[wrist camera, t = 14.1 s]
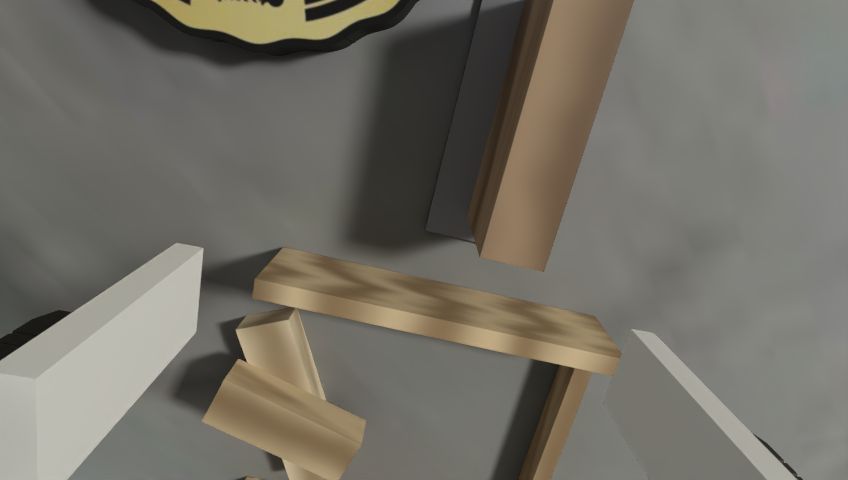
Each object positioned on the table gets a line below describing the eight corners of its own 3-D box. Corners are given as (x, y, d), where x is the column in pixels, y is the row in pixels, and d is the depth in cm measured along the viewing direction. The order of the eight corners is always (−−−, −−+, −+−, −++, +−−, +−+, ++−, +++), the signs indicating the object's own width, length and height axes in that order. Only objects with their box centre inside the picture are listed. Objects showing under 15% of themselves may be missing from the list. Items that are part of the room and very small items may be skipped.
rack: (244, 488, 48) (215, 553, 41) (283, 247, 40) (254, 278, 34) (511, 539, 50) (524, 610, 43) (595, 316, 42) (626, 360, 35)
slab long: (299, 460, 47) (291, 484, 45) (248, 313, 43) (235, 329, 40) (344, 452, 47) (339, 476, 44) (297, 303, 42) (288, 319, 40)
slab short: (342, 457, 44) (336, 483, 41) (217, 398, 42) (201, 421, 39) (366, 420, 42) (361, 444, 40) (238, 358, 41) (224, 379, 38)
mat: (425, 228, 40) (425, 230, 39) (491, -41, 34) (493, -43, 33) (543, 255, 40) (544, 258, 40) (628, -5, 35) (631, -6, 34)
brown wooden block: (467, 215, 39) (479, 257, 29) (525, -1, 34) (563, -35, 25) (515, 226, 39) (543, 271, 30) (580, 13, 34) (638, -15, 25)
